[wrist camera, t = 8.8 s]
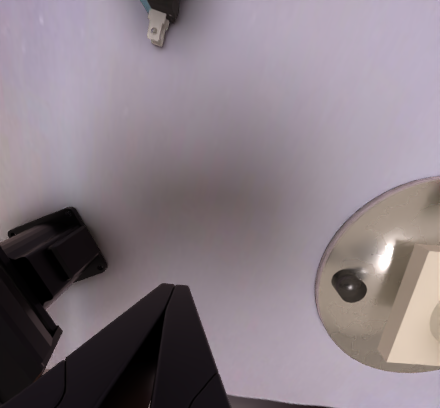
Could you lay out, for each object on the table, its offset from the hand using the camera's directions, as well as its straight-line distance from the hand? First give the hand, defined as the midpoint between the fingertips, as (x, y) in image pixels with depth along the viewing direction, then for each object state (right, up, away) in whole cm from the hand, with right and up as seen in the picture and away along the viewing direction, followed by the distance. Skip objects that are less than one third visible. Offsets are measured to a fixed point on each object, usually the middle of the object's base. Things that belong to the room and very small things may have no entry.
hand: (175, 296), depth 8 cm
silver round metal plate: (+20, -4, +15) cm, 25 cm away
